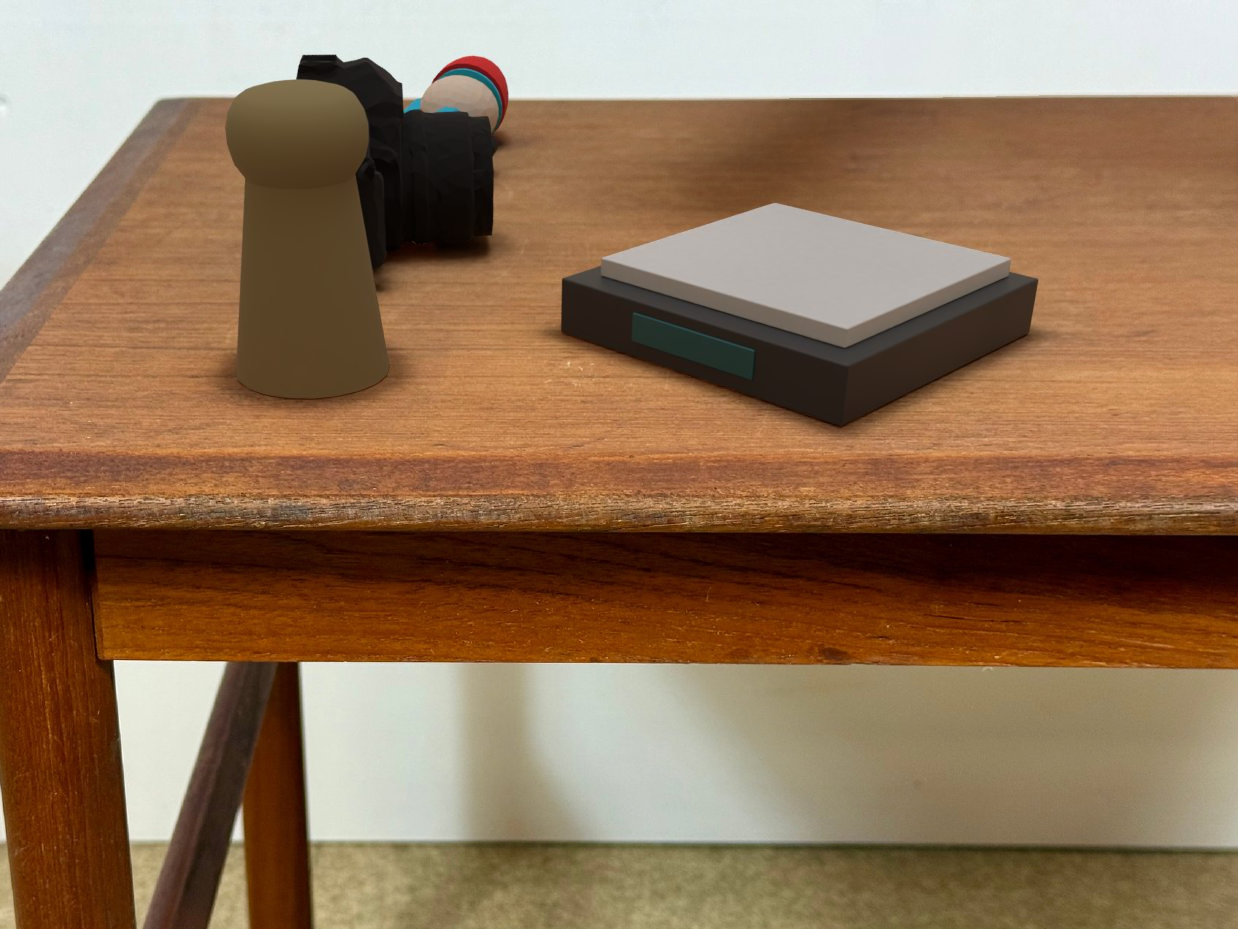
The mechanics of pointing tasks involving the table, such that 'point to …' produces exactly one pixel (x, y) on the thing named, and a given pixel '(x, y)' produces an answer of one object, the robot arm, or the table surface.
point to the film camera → (413, 162)
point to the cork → (304, 243)
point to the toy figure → (468, 91)
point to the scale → (802, 308)
